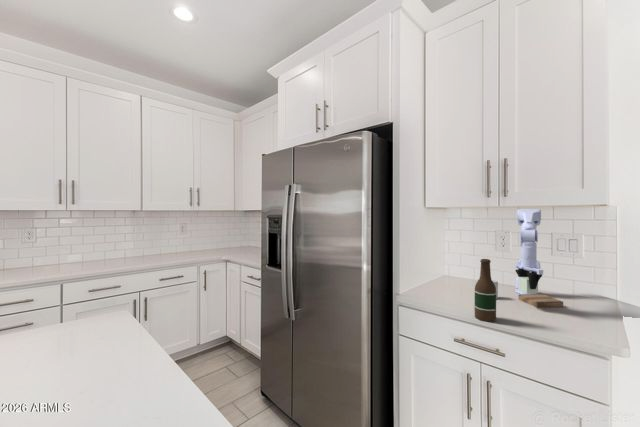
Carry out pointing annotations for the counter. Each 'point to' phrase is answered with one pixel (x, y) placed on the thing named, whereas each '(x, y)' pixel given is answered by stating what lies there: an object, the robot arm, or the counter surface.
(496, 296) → the medicine box
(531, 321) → the counter surface
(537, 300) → the walnut block
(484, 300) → the beer bottle
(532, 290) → the sage block
